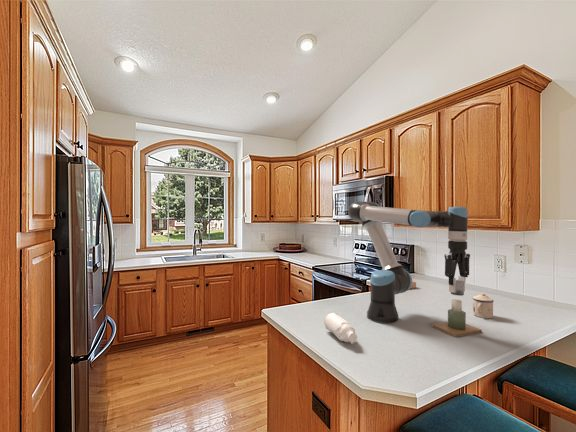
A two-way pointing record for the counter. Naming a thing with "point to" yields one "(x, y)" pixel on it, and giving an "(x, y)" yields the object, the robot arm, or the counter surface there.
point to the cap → (459, 288)
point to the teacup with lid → (483, 306)
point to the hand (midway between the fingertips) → (456, 291)
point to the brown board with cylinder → (457, 322)
